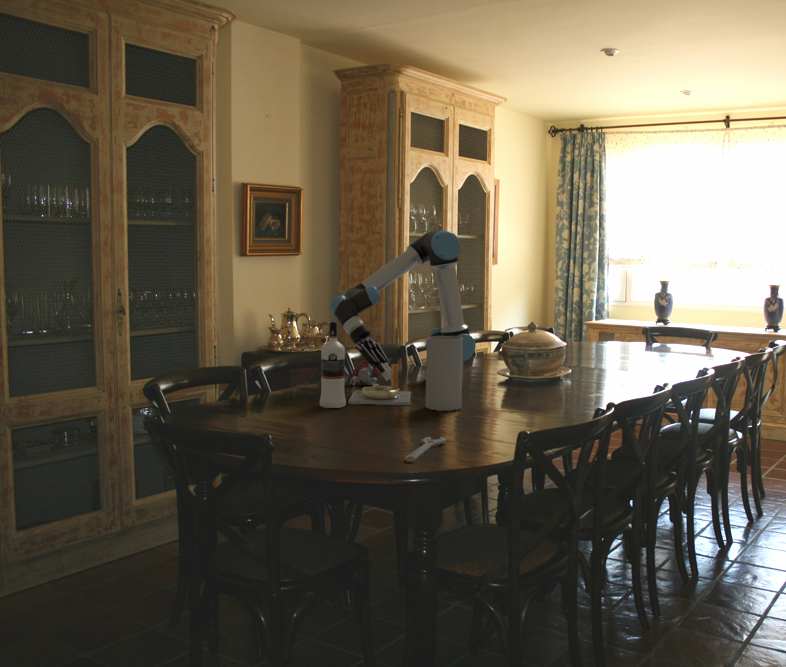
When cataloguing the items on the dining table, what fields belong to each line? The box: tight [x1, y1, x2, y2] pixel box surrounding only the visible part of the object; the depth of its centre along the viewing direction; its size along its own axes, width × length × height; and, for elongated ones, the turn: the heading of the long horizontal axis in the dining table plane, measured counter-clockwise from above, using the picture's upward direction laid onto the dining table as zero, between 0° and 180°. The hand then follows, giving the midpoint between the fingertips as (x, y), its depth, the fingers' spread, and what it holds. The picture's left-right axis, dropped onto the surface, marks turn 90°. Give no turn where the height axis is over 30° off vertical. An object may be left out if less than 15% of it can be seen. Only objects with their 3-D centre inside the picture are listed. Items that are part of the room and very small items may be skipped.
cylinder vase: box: [425, 335, 463, 412], centre depth 257 cm, size 12×12×25 cm
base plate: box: [347, 389, 412, 406], centre depth 274 cm, size 22×22×1 cm
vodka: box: [319, 321, 347, 409], centre depth 257 cm, size 9×9×30 cm
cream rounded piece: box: [361, 363, 401, 399], centre depth 273 cm, size 14×14×11 cm
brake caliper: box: [351, 358, 380, 386], centre depth 305 cm, size 11×11×12 cm
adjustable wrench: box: [404, 436, 447, 461], centre depth 199 cm, size 25×6×2 cm, turn 155°
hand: (391, 378), depth 276 cm, fingers closed on cream rounded piece, 2 cm apart
